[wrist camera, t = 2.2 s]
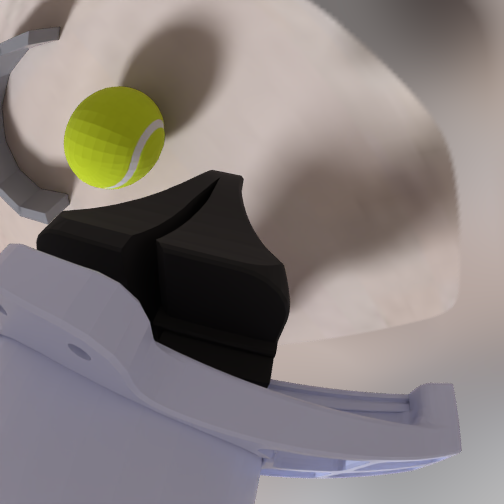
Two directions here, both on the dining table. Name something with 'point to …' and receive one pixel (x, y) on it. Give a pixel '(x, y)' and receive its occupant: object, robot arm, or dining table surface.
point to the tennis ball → (114, 137)
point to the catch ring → (3, 164)
